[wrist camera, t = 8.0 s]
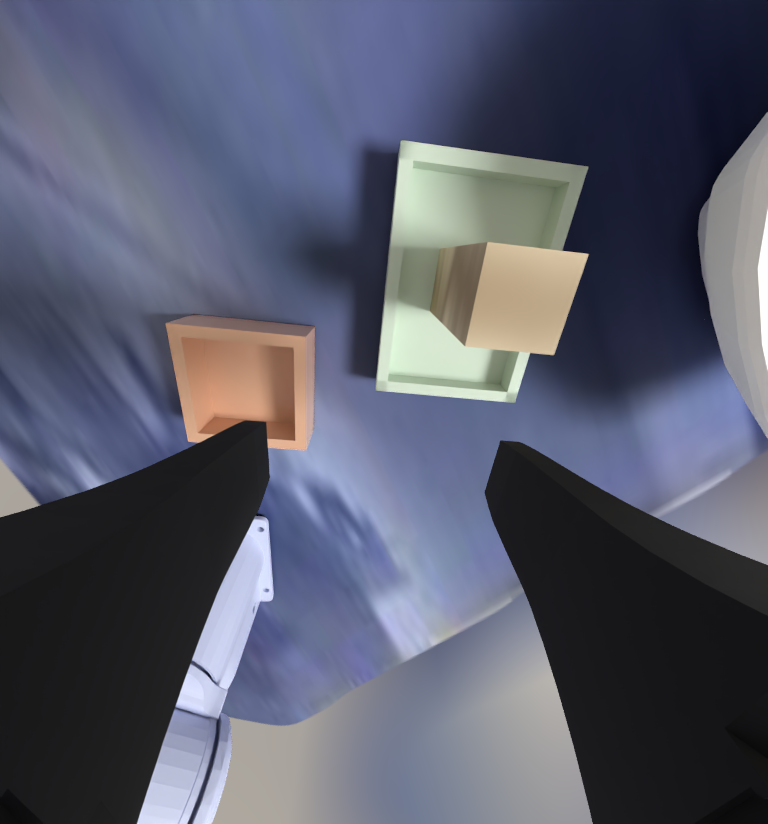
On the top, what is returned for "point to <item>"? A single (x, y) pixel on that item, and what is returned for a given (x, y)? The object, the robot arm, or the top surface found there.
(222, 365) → the orange open box
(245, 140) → the top surface
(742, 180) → the bowl
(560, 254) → the beech pin
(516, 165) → the tray
